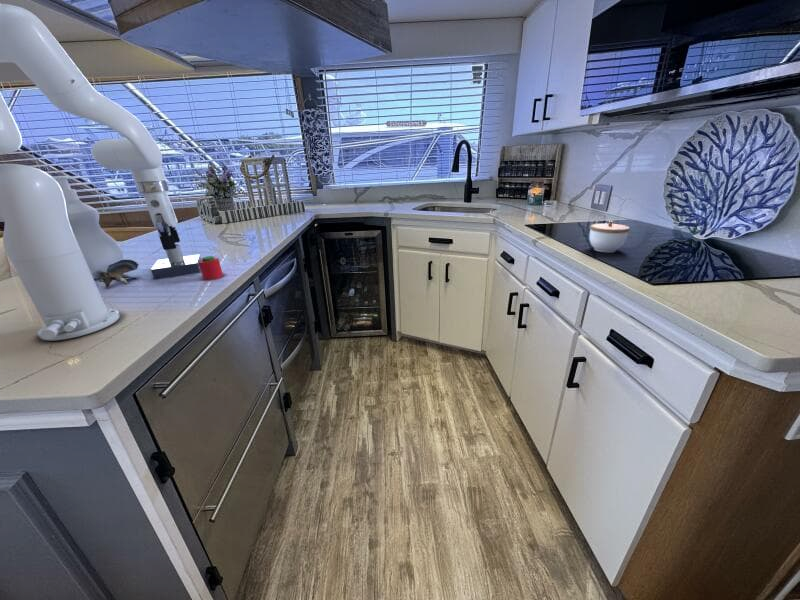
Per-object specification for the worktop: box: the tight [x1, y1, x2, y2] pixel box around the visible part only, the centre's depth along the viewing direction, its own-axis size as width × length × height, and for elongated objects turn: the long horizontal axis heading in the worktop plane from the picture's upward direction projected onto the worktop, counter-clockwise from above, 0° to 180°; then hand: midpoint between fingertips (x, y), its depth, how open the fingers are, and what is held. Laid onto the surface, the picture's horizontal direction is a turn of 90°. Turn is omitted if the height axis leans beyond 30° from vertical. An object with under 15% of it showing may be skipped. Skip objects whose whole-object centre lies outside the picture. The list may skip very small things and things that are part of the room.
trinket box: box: [588, 220, 631, 253], centre depth 104 cm, size 11×11×9 cm
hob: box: [150, 254, 202, 280], centre depth 102 cm, size 12×12×3 cm
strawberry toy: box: [198, 255, 224, 281], centre depth 94 cm, size 5×5×6 cm
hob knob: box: [164, 243, 184, 263], centre depth 101 cm, size 4×4×5 cm
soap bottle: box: [51, 175, 124, 280], centre depth 96 cm, size 17×12×29 cm
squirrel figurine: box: [93, 259, 139, 289], centre depth 92 cm, size 8×7×9 cm
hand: (172, 245), depth 100 cm, fingers open, 9 cm apart
